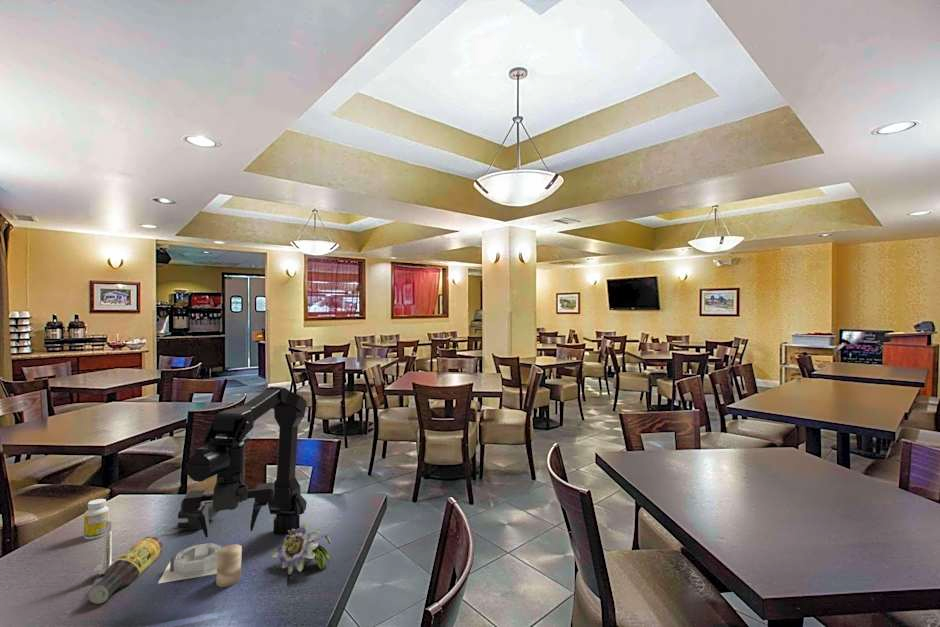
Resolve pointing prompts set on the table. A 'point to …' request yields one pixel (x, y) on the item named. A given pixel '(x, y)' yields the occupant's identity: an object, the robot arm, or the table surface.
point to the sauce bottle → (126, 568)
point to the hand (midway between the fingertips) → (229, 533)
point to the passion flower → (301, 549)
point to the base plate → (171, 576)
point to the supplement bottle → (95, 519)
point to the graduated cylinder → (106, 550)
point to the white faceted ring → (187, 567)
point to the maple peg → (229, 565)
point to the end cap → (193, 520)
